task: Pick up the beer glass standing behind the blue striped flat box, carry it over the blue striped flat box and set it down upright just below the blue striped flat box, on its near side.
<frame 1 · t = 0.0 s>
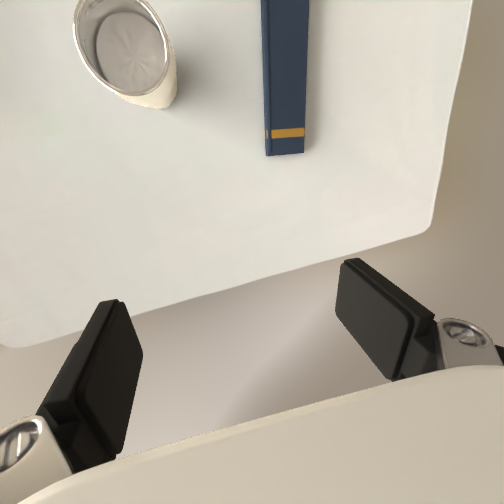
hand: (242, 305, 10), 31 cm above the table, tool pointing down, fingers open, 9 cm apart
beer glass: (153, 82, 31), on the table
blue striped flat box: (283, 69, 34), on the table
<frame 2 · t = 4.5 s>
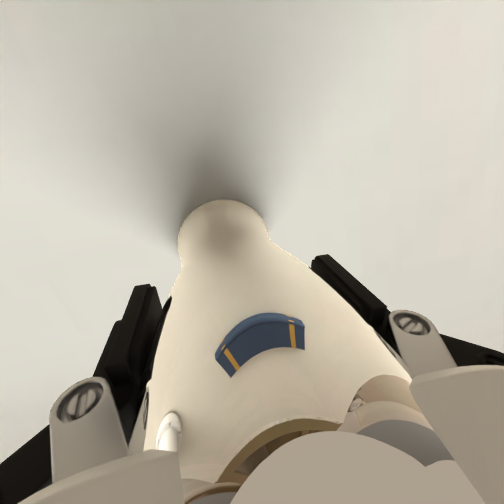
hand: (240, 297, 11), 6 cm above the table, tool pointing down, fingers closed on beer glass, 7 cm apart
beer glass: (223, 241, 17), on the table, touching gripper
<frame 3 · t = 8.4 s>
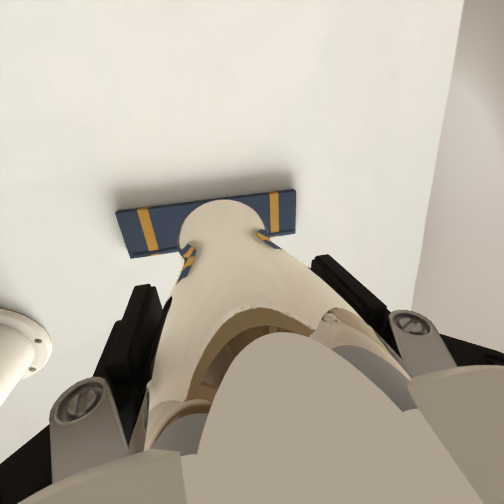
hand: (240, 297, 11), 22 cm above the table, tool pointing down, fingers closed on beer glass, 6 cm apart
beer glass: (223, 241, 17), point 15 cm above the table, touching gripper
blue striped flat box: (213, 221, 31), on the table
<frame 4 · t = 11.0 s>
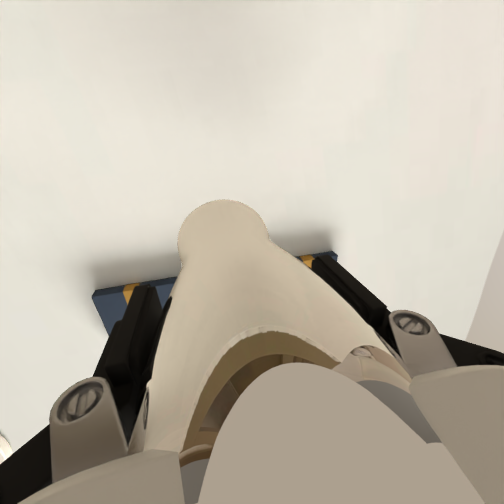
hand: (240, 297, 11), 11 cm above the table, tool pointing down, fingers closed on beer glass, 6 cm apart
beer glass: (223, 241, 17), point 4 cm above the table, touching gripper
blue striped flat box: (227, 294, 24), on the table
when the fingers open (6 cm above the table, at t = 12.7 s): beer glass stays where it is, on the table.
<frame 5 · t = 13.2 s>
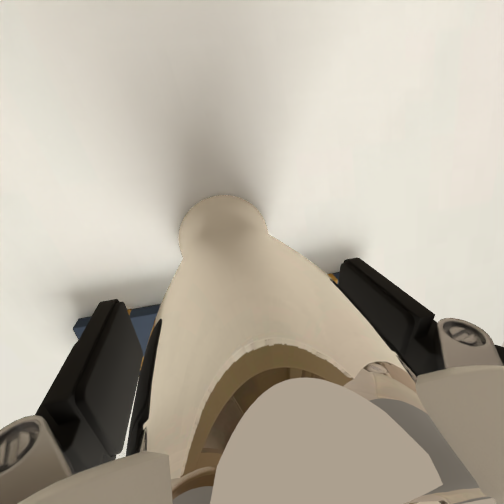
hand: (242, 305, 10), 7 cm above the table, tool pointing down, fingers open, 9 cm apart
beer glass: (223, 236, 17), on the table
blue striped flat box: (234, 320, 20), on the table
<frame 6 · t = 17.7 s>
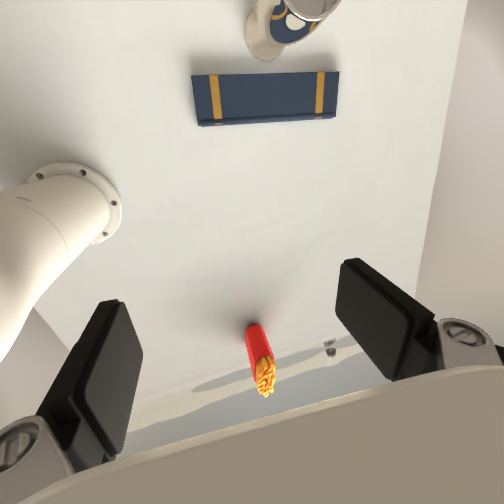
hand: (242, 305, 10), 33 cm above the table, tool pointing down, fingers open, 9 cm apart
beer glass: (265, 34, 33), on the table
french fries: (253, 334, 57), on the table
blue striped flat box: (268, 99, 36), on the table
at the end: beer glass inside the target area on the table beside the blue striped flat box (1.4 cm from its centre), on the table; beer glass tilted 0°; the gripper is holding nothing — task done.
